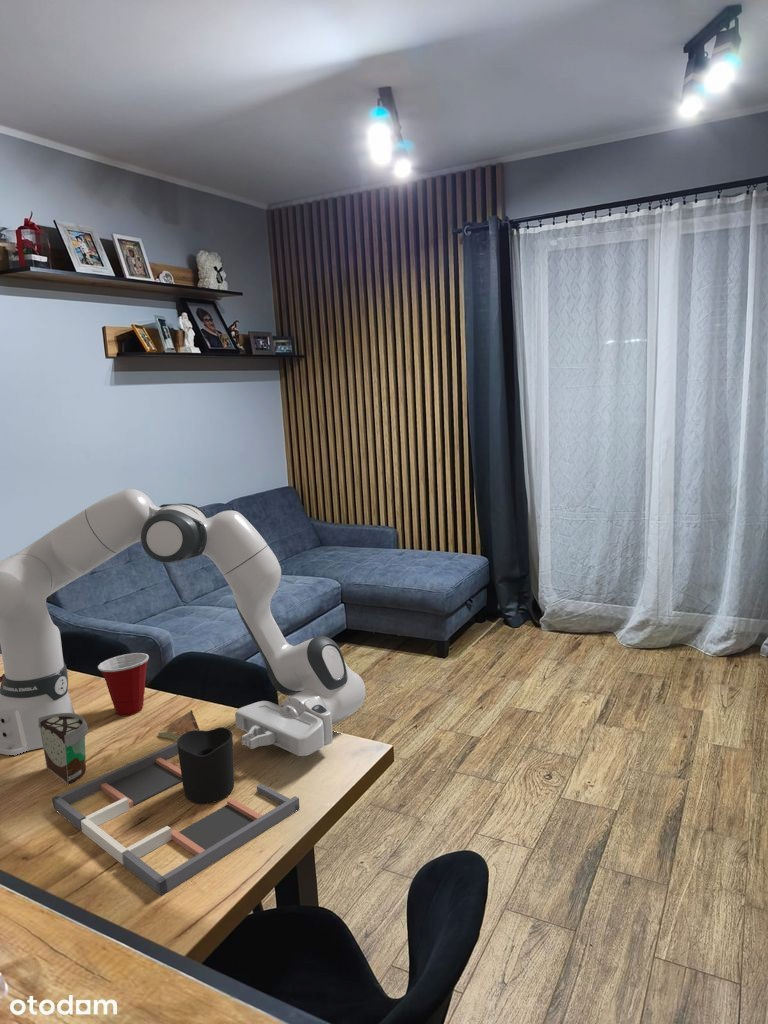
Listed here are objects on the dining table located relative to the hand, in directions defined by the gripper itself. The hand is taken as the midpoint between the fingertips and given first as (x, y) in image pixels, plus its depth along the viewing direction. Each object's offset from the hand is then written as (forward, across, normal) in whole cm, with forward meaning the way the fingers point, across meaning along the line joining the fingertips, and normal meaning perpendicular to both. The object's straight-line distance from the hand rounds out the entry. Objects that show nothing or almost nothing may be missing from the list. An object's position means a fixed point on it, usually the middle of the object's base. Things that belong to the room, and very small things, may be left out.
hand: (246, 743), depth 129 cm
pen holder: (+9, 0, +6) cm, 10 cm away
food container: (+20, -27, +6) cm, 34 cm away
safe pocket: (+25, 0, +5) cm, 25 cm away
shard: (-1, -25, +6) cm, 26 cm away
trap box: (+16, 0, +5) cm, 17 cm away
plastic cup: (0, -43, +6) cm, 43 cm away
